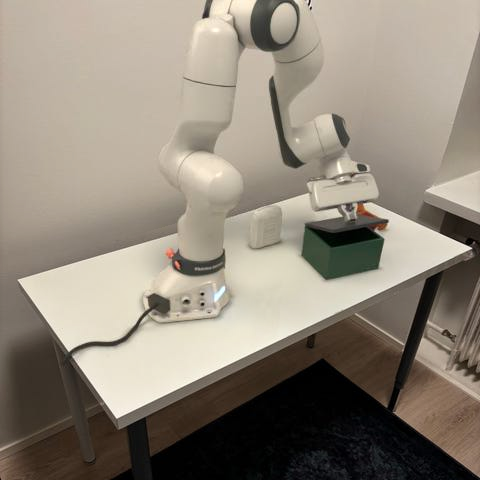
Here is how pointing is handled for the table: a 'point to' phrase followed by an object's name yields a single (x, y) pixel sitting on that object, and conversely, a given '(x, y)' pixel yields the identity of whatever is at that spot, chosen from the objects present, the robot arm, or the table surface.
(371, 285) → the table surface
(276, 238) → the photo printer
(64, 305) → the table surface
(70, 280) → the table surface
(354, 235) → the bin
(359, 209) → the kendama
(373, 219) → the bin lid
